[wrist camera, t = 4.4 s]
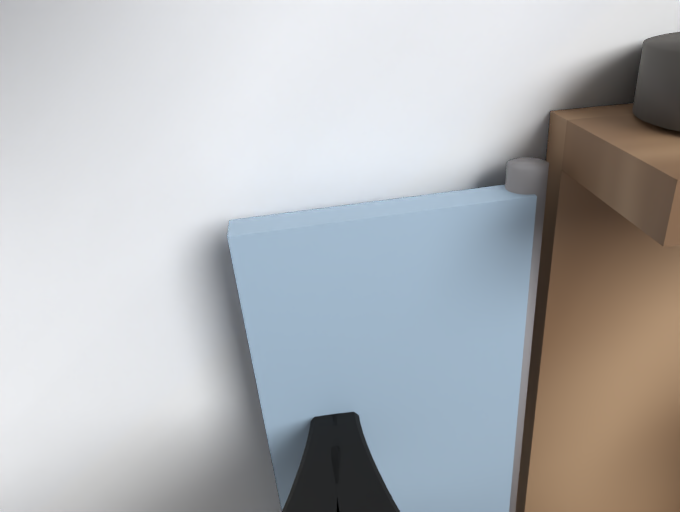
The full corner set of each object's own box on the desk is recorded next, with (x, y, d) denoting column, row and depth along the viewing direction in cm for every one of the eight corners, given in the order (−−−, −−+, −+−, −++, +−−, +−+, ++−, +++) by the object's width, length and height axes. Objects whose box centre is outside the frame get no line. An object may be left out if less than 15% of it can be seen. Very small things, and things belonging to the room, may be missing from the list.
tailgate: (559, 168, 10) (222, 211, 10) (516, 570, 16) (301, 611, 15) (531, 151, 11) (225, 189, 11) (500, 534, 17) (299, 570, 16)
